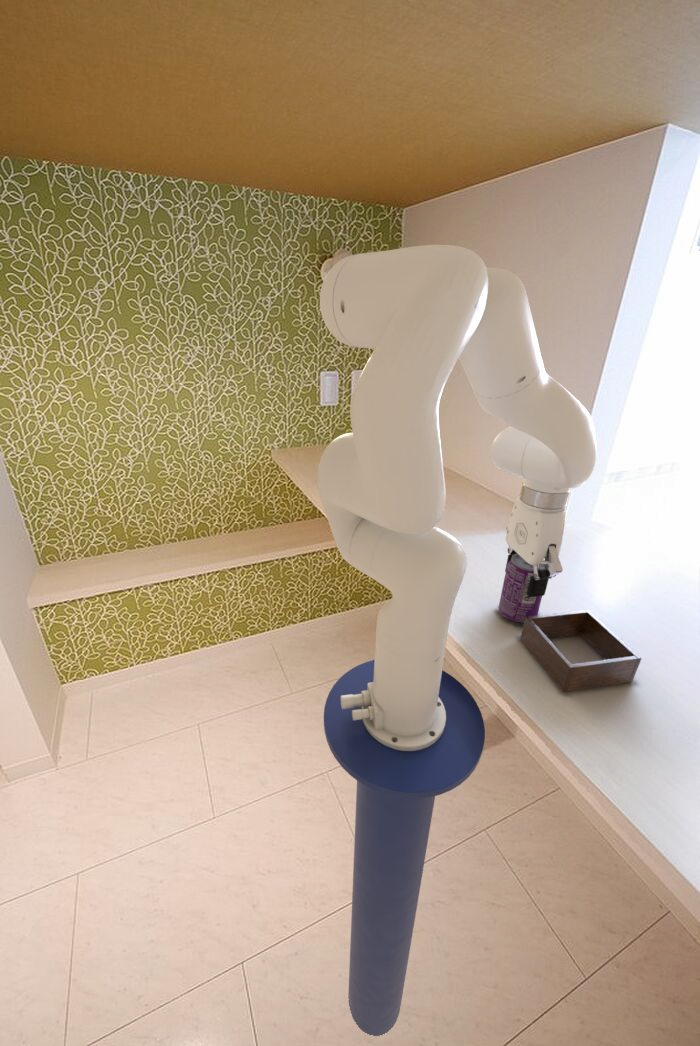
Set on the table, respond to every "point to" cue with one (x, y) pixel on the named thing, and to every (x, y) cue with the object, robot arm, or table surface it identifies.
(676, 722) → the table surface
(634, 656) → the crate
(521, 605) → the beverage can
